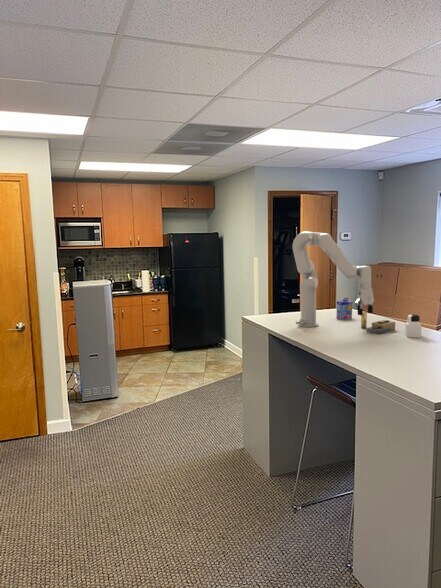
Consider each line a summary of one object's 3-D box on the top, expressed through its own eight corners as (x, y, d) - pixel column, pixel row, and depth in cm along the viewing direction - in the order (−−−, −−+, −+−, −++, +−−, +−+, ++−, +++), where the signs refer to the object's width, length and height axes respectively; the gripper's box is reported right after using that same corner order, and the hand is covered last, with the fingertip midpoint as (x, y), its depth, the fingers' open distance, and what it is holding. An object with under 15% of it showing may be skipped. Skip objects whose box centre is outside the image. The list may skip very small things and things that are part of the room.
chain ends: (378, 334, 242) (378, 324, 242) (366, 332, 249) (366, 322, 248) (395, 330, 251) (395, 321, 251) (383, 328, 258) (383, 319, 257)
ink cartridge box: (341, 319, 287) (341, 298, 285) (335, 318, 292) (336, 297, 290) (352, 318, 291) (352, 297, 290) (347, 317, 296) (347, 296, 295)
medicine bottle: (418, 334, 238) (419, 314, 237) (421, 337, 231) (421, 316, 230) (405, 334, 240) (405, 313, 239) (407, 337, 233) (407, 316, 232)
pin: (364, 328, 258) (364, 312, 257) (359, 328, 260) (360, 312, 259) (367, 328, 260) (367, 312, 258) (363, 327, 262) (363, 311, 261)
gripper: (360, 288, 249) (361, 316, 251) (378, 285, 258) (379, 312, 260) (350, 287, 255) (351, 315, 257) (368, 284, 264) (368, 311, 266)
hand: (365, 313), depth 259 cm, fingers open, 9 cm apart
